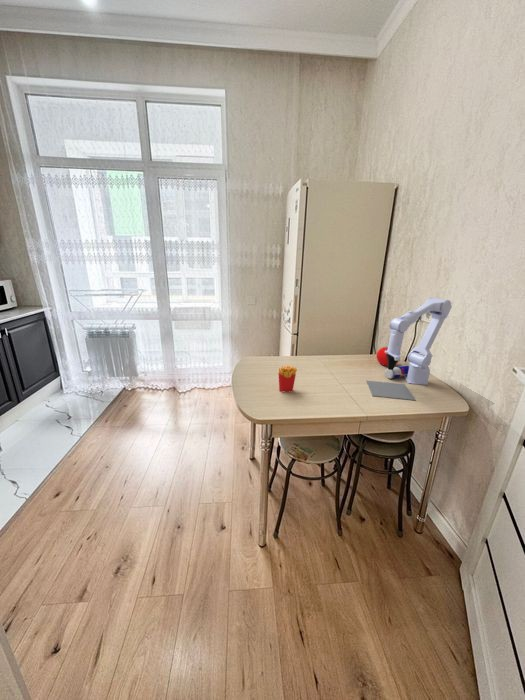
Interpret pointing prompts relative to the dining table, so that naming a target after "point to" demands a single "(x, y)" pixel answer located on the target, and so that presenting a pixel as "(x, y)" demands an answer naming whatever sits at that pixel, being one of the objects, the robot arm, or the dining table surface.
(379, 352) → the tomato
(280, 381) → the french fries
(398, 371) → the beverage can
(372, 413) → the dining table surface
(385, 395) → the mat
